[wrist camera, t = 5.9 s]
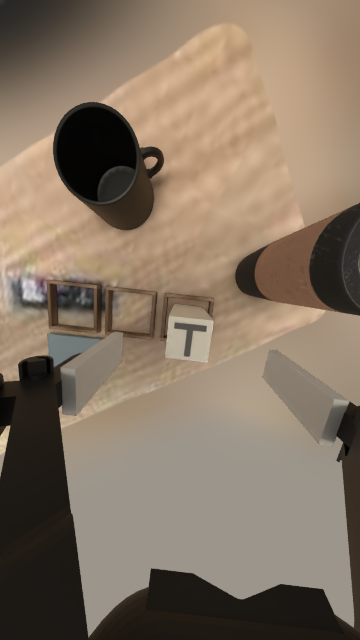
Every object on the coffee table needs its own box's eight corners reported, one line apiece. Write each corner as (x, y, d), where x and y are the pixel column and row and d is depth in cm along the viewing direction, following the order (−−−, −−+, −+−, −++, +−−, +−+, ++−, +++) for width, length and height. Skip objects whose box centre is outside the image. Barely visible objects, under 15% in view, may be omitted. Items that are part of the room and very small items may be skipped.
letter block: (171, 330, 31) (164, 358, 19) (174, 303, 30) (168, 315, 18) (198, 333, 31) (207, 363, 19) (201, 306, 30) (214, 321, 18)
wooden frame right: (161, 338, 31) (160, 340, 30) (165, 292, 30) (164, 293, 28) (206, 343, 32) (207, 345, 30) (212, 298, 30) (214, 298, 28)
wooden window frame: (108, 332, 31) (104, 334, 30) (109, 286, 30) (105, 286, 28) (153, 337, 31) (152, 339, 30) (157, 291, 30) (155, 292, 28)
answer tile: (54, 375, 33) (50, 378, 32) (51, 332, 32) (47, 333, 31) (103, 380, 34) (101, 383, 33) (104, 338, 32) (101, 339, 31)
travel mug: (247, 243, 28) (401, 146, 8) (286, 263, 28) (517, 217, 9) (225, 285, 29) (311, 288, 10) (263, 304, 30) (416, 341, 10)
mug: (177, 210, 27) (175, 175, 18) (110, 239, 28) (77, 218, 19) (155, 146, 25) (140, 71, 16) (85, 178, 26) (35, 125, 17)
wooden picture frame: (55, 326, 31) (49, 328, 30) (53, 280, 30) (46, 279, 28) (100, 331, 31) (96, 333, 30) (101, 285, 30) (96, 285, 28)
